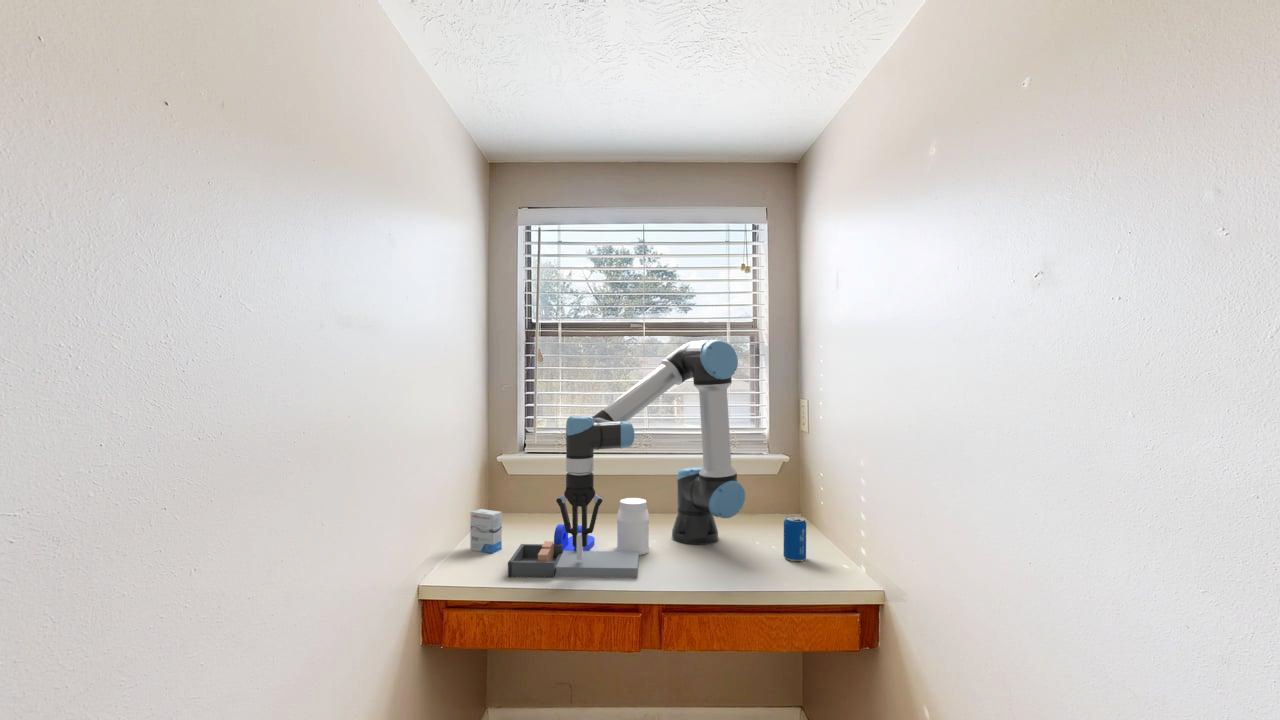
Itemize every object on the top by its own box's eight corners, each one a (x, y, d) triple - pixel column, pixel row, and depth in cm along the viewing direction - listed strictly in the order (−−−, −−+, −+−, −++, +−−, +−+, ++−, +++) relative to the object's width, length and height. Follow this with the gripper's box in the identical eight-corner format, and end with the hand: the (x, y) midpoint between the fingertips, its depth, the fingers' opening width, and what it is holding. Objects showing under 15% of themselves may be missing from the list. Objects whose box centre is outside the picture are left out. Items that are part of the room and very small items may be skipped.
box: (562, 558, 178) (563, 544, 178) (554, 577, 162) (554, 562, 162) (521, 557, 179) (521, 544, 179) (507, 577, 163) (508, 562, 163)
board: (638, 560, 177) (638, 551, 177) (637, 577, 163) (637, 568, 163) (563, 559, 177) (563, 550, 177) (555, 576, 163) (555, 567, 163)
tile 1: (553, 541, 176) (545, 541, 176) (550, 546, 171) (541, 546, 171) (553, 558, 176) (544, 558, 176) (550, 564, 171) (541, 564, 171)
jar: (648, 555, 181) (649, 505, 181) (616, 555, 181) (617, 505, 181) (648, 543, 193) (648, 496, 193) (617, 543, 193) (618, 496, 193)
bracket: (580, 560, 177) (581, 529, 177) (553, 558, 179) (554, 527, 179) (597, 542, 195) (597, 514, 195) (572, 540, 197) (572, 512, 197)
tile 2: (550, 549, 169) (541, 548, 169) (547, 554, 164) (537, 554, 164) (550, 566, 169) (541, 566, 169) (546, 573, 164) (537, 573, 164)
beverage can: (793, 564, 174) (794, 522, 174) (778, 557, 180) (779, 517, 180) (810, 560, 177) (811, 519, 177) (795, 554, 183) (795, 514, 183)
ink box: (502, 549, 186) (502, 511, 186) (492, 554, 182) (492, 514, 182) (480, 545, 190) (480, 508, 190) (469, 550, 185) (469, 511, 185)
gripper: (604, 470, 170) (604, 553, 171) (558, 469, 171) (558, 553, 171) (602, 475, 163) (602, 562, 163) (553, 475, 163) (554, 562, 163)
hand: (579, 557), depth 167 cm, fingers closed
